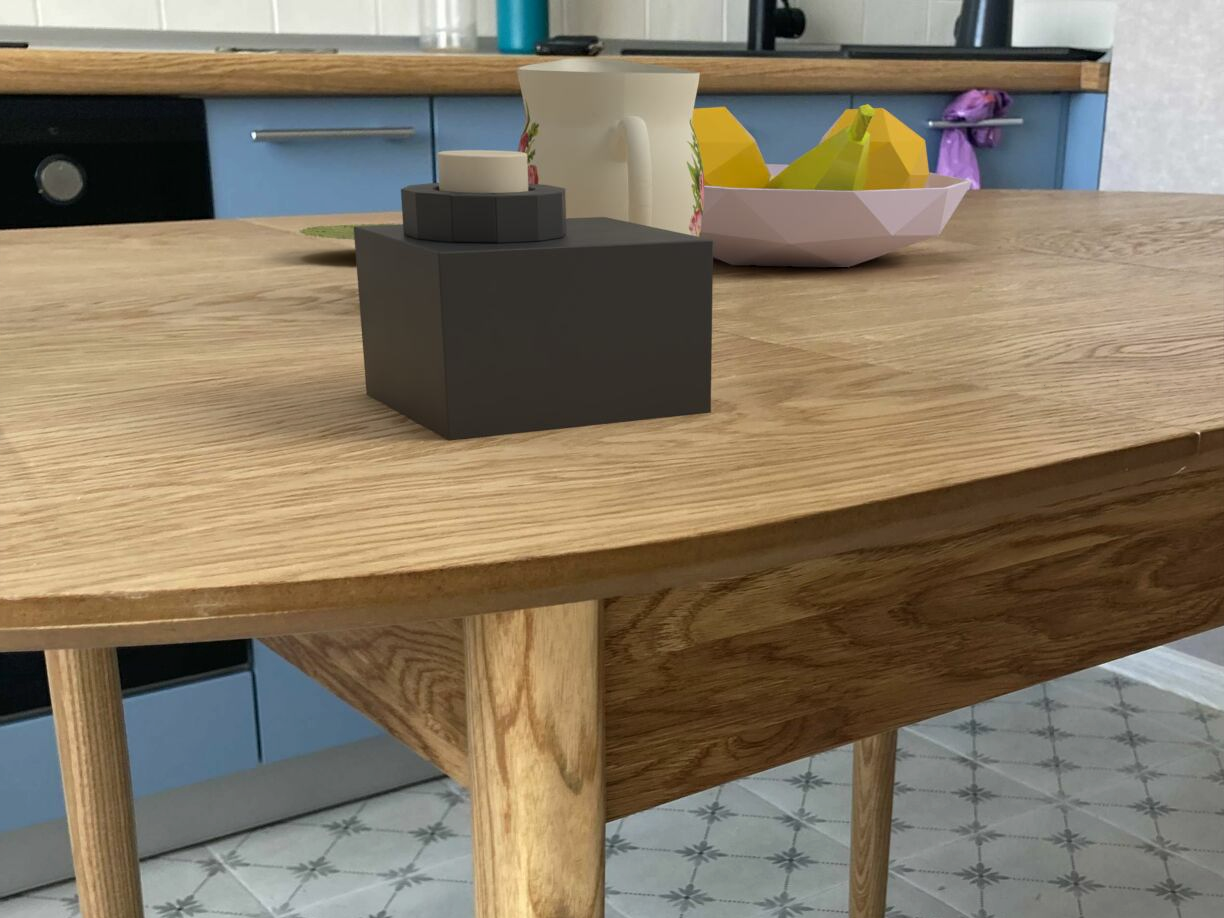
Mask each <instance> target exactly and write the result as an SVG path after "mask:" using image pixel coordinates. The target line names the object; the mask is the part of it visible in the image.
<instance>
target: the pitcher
mask: <svg viewBox="0 0 1224 918" xmlns="http://www.w3.org/2000/svg"><path fill="white" fill-rule="evenodd" d="M516 73H517V78H518V82H519V87H520V91H521V96H522V101H523V106H524V107H523V108H524V114H525V121H524V125H523V129H522V132H521V135H520V139H519V144H518V149H517V152H523V153H526V154H527V163H528V184H541V185H550V186H555V187H561V188H564V189H565V198H566V218H590V217H607V218H612V219H617V220H621V221H626V222H631V223H636V224H640V225H645V226H650V227H655V228H660V229H664V230H669V231H674V232H679V233H683V234H688V235H693V236H698V237H699V234H700V229H701V223H702V216H703V205H704V170H703V163H702V157H701V153H700V149H699V144H698V141H697V138H696V134H695V131H694V128H693V124H692V118H693V110H694V109H695V103H696V99H697V98H696V97H697V94H698V93H697V92H698V89H699V82H700V77H701V76H700V72H698V71H694V70H688V69H682V68H677V67H672V66H664V65H658V64H657V65H656V64H652V63H651V64H650V63H643V62H636V61H628V60H624V59H615V58H605V57H603V58H602V57H565V58H561V59H558V60H551V61H544V62H537V63H530V64H525V65H523V66H522V65H521V66H519V67H517V68H516Z"/></svg>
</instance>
